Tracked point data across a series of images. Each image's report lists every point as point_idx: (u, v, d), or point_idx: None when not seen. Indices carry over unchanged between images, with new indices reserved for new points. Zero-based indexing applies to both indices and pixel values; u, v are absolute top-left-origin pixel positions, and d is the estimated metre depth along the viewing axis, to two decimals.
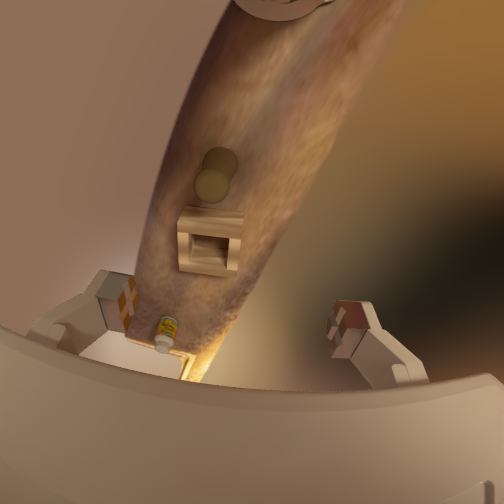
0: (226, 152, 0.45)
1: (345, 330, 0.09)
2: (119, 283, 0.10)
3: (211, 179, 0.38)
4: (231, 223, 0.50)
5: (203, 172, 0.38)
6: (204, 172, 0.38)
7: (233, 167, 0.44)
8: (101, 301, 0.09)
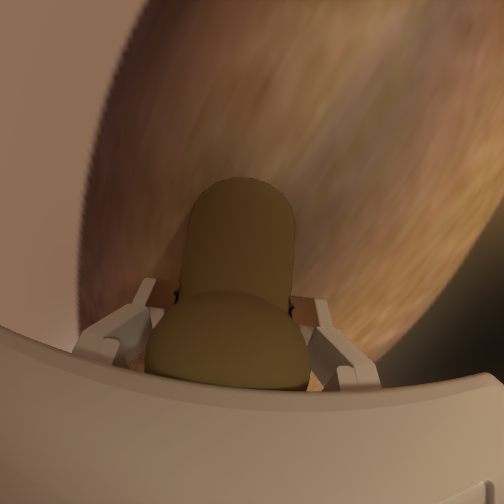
0: (266, 196, 0.14)
1: None
2: (169, 291, 0.10)
3: (228, 381, 0.06)
4: None
5: (181, 327, 0.07)
6: (186, 330, 0.07)
7: (293, 251, 0.13)
8: (152, 311, 0.09)
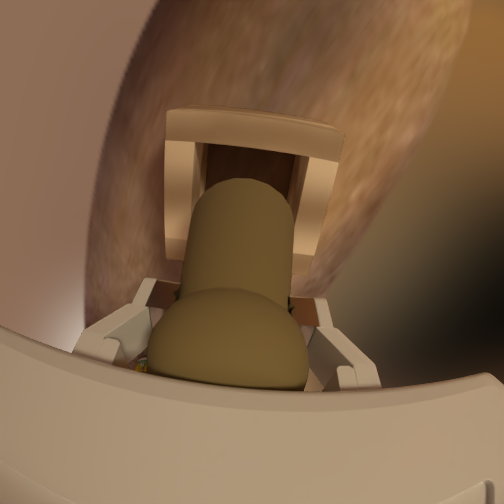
0: (266, 196, 0.14)
1: None
2: (170, 291, 0.10)
3: (229, 375, 0.06)
4: (310, 123, 0.18)
5: (183, 322, 0.07)
6: (188, 325, 0.07)
7: (292, 250, 0.14)
8: (152, 311, 0.09)
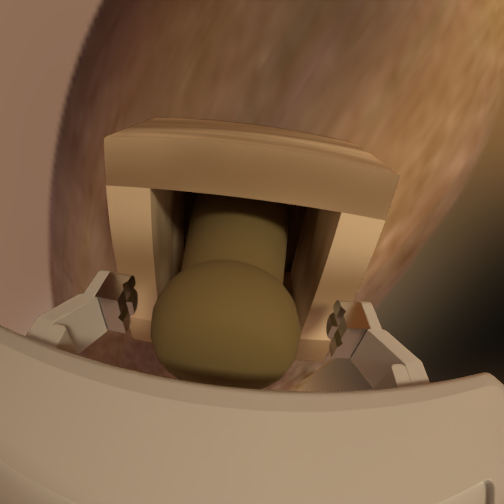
0: None
1: (345, 330, 0.09)
2: (119, 283, 0.10)
3: (226, 333, 0.07)
4: (341, 153, 0.11)
5: (185, 287, 0.08)
6: (190, 288, 0.08)
7: (287, 234, 0.14)
8: (101, 301, 0.09)
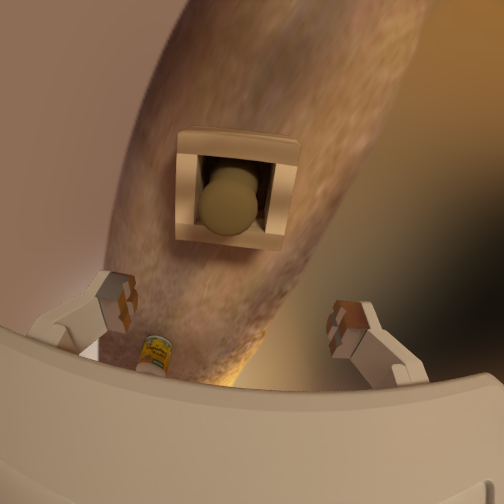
0: None
1: (345, 330, 0.09)
2: (119, 283, 0.10)
3: (228, 194, 0.22)
4: (277, 139, 0.26)
5: (214, 183, 0.23)
6: (216, 183, 0.23)
7: (257, 181, 0.29)
8: (101, 301, 0.09)
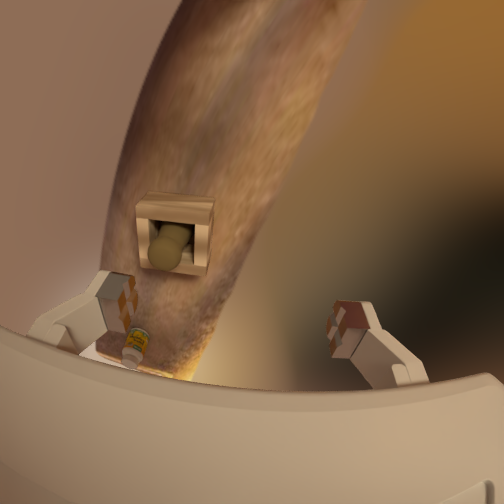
0: None
1: (345, 330, 0.09)
2: (119, 283, 0.10)
3: (161, 249, 0.38)
4: (197, 207, 0.41)
5: (155, 241, 0.38)
6: (155, 241, 0.38)
7: (189, 230, 0.45)
8: (101, 301, 0.09)
